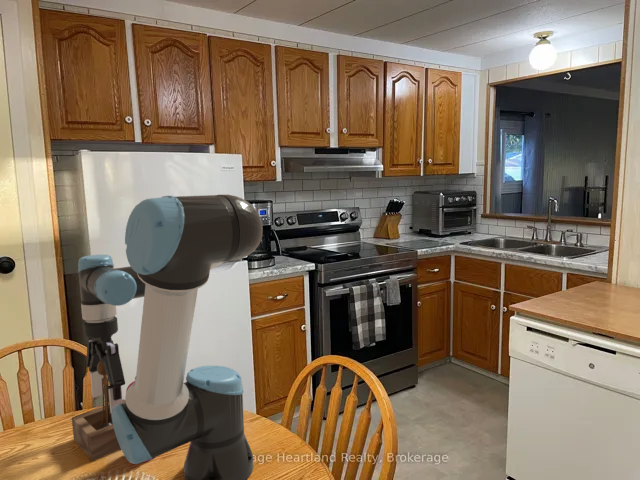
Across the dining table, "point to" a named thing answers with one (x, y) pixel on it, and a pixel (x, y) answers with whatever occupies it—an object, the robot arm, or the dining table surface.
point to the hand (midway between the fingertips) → (107, 403)
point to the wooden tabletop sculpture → (104, 394)
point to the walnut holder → (95, 434)
